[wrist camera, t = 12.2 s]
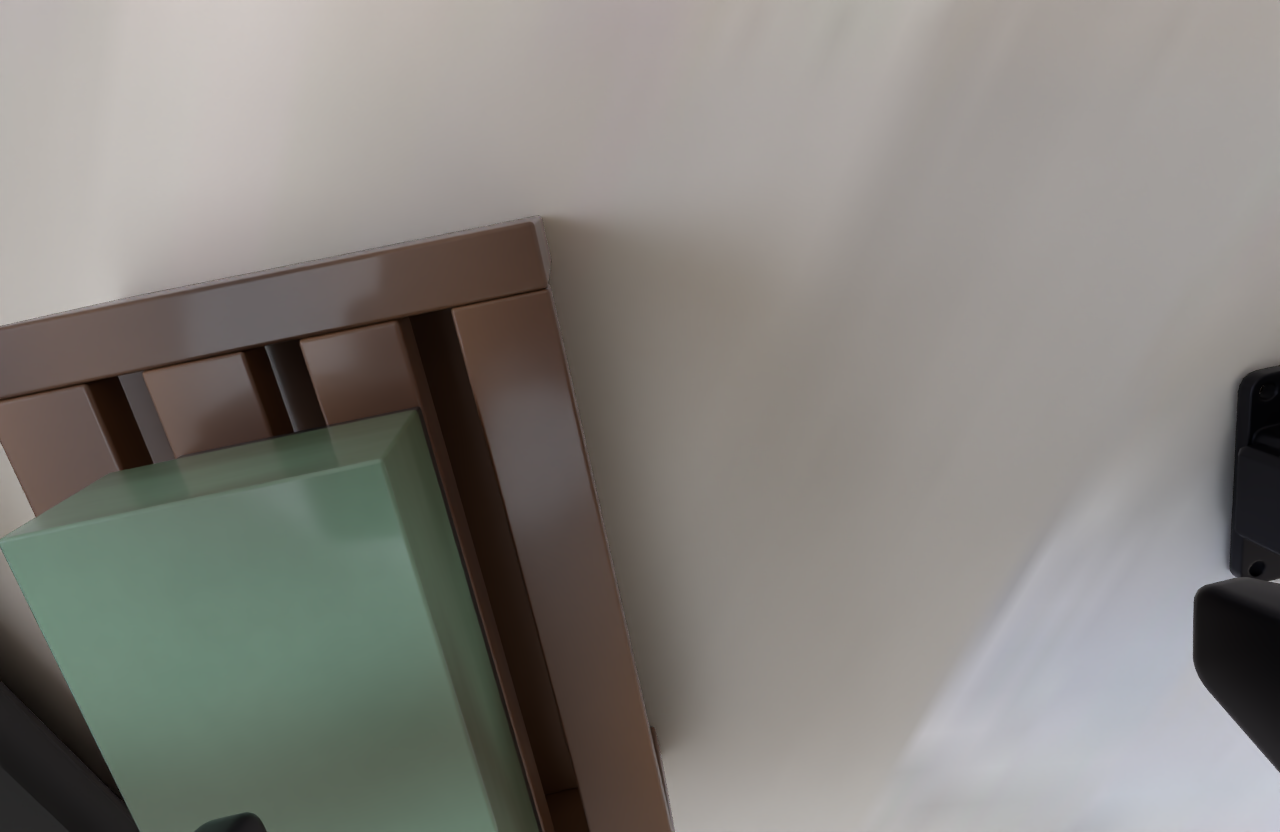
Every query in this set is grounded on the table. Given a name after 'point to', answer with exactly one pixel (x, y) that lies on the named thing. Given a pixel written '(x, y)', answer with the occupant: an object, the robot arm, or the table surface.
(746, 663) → the table surface
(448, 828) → the green rectangular block
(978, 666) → the table surface
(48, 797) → the dark leather journal
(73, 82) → the table surface
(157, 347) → the rack
